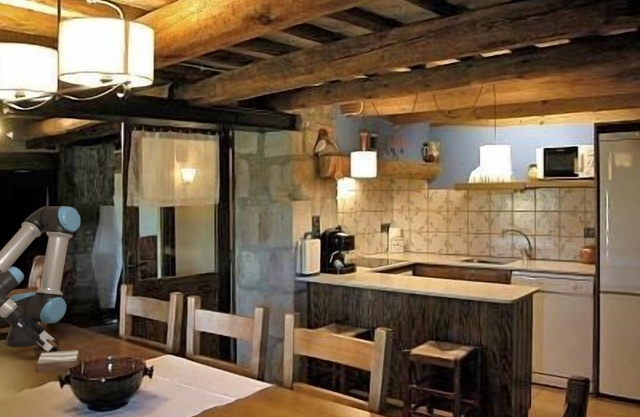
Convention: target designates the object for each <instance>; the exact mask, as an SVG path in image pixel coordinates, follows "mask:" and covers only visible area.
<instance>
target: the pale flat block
mask: <svg viewBox="0 0 640 417" xmlns="http://www.w3.org/2000/svg"><path fill="white" fill-rule="evenodd" d="M59 351H60V350H59ZM79 352H80V351H79V350H78V349H75V350H74V349H73V350H61V351H60V352H57V351H56V352H52V351H51V352H49V351H46V352H43V353H40V355H39V357H38V360H37V373H41V372H42V373H43V372H53V371H64V370H66V371H67V370H70V369H69V368H72V367H74V366H76V365H77V366H78V364H79V360H80V357H79Z"/></svg>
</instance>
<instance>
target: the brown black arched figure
mask: <svg viewBox="0 0 640 417" xmlns="http://www.w3.org/2000/svg"><path fill="white" fill-rule="evenodd" d="M46 341H47V342H48V343H49V344H51V345H52V346H53V347H52V348H51V349H50V350H51V352H60V349H59V346H60V342H59V340H57V339H55V338H54V340H52V341H50V339H47V340H46ZM36 346H37V347H36ZM36 346H35V347H34V348H33V351H34V355H35V356H37V357H40V356H41V354H42V353H44V350H45V349H44V348H43V347H41V346H40V345H39V344H38V343H37V345H36Z"/></svg>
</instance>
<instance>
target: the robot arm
mask: <svg viewBox="0 0 640 417" xmlns="http://www.w3.org/2000/svg"><path fill="white" fill-rule="evenodd" d="M81 223H82V222H81V215H80V214H79V212H78V210H77V209H75V208H74V207H71V206H65V205H60V206H59V205H57V206H51V205H48V206H43V207H40V208H38V209H37V210H35V211H33V213H31V214H30V215H29V216H28V217H27V218H25V220H24V221H23V222H22V223H21V228H19V229H18V231H17V232H16V233H15V234H14V235H13V237H12V238H11V239H10V240H9V241H8V242H7V243H6V245H5V246H4V247H3V248H2V249H1V250H0V317H1V318H2V319H4V321H5V322H7V323H8V324H9V326H10V327H9V331H8V334H7V337H6V340H5V342H6V343H5V344H6V346H8V347H28V346H33V345H36V344H37V345H38V344H39V345H40V346H41V347H43V348H44V349H43V350H45V351H46V352H49V351H50V350H51V348H52V347H53V346H52V345H51V344H49V343H48V342H47V341H46V340H47V339H50V341H52V340H54V339H55V338H54V337H52V336H51V335H50V334H49V333H48V332H46V328H45V327H43V326H42V325H40V324H39V323H44V324H54V323H57V322H59V321H60V320H62V318H64V316H65V313H66V311H67V303H66V301H65V300H64V298H63V295H64V294H63V292H62V291H61V286H62V280H63V274H64V267H65V262H66V258H67V252H68V250H67V249H68V245H69V240H70V239H71V238H72V237H73V236H74V232H76V231H78V229H79V228H80V226H81ZM43 233H46V235H47V237H48V239H47V245H46V246H47V247H46V250H45V251H46V252H45V257H44V258H45V259H44V262H43V270H42V274H41V281H40V286H39V288H38V289H37V290H36V291H32V292H31V291H30V292H24V293H19V294H14V295H13V294H12V296H11V297H9V296H8V295H9V294H10V293H11V292H12V291H14V289H16V288H17V287H18V286H19V285H20V284H21V282H22V281H24V278H25V276H24V273H23V272H22V271H21V270H20V269H19V268H17V267H16V266H12V265H13V264H14V263H15V262H16V261H17V260H18V258H19V257H20V256H21V255H22V254H23V252H25V251H26V249H28V247H29V246H30V245H31V243H32V242H33V241H34V240H35V239H36V238H39V237H41V235H42V234H43Z"/></svg>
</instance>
